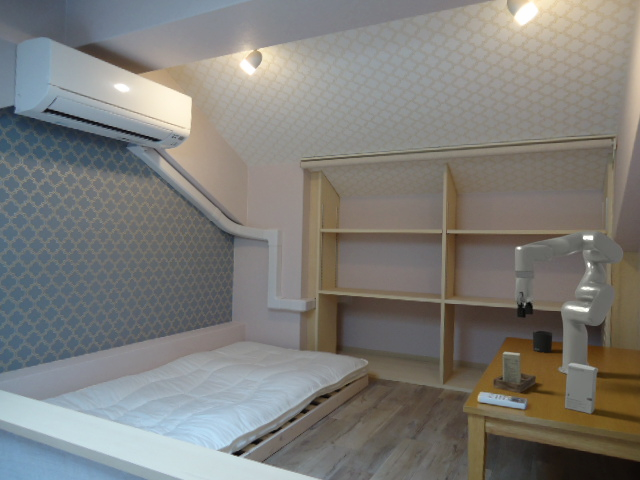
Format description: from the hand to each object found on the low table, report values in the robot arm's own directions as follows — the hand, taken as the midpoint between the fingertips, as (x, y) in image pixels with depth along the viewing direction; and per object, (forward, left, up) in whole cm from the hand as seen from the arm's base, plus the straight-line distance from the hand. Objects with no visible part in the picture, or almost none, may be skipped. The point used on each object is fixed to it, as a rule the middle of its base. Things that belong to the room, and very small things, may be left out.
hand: (525, 315), depth 198 cm
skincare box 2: (-27, +26, -26) cm, 46 cm away
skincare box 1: (-1, +18, -25) cm, 31 cm away
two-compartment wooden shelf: (-1, +14, -26) cm, 30 cm away
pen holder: (+11, -62, -26) cm, 68 cm away
